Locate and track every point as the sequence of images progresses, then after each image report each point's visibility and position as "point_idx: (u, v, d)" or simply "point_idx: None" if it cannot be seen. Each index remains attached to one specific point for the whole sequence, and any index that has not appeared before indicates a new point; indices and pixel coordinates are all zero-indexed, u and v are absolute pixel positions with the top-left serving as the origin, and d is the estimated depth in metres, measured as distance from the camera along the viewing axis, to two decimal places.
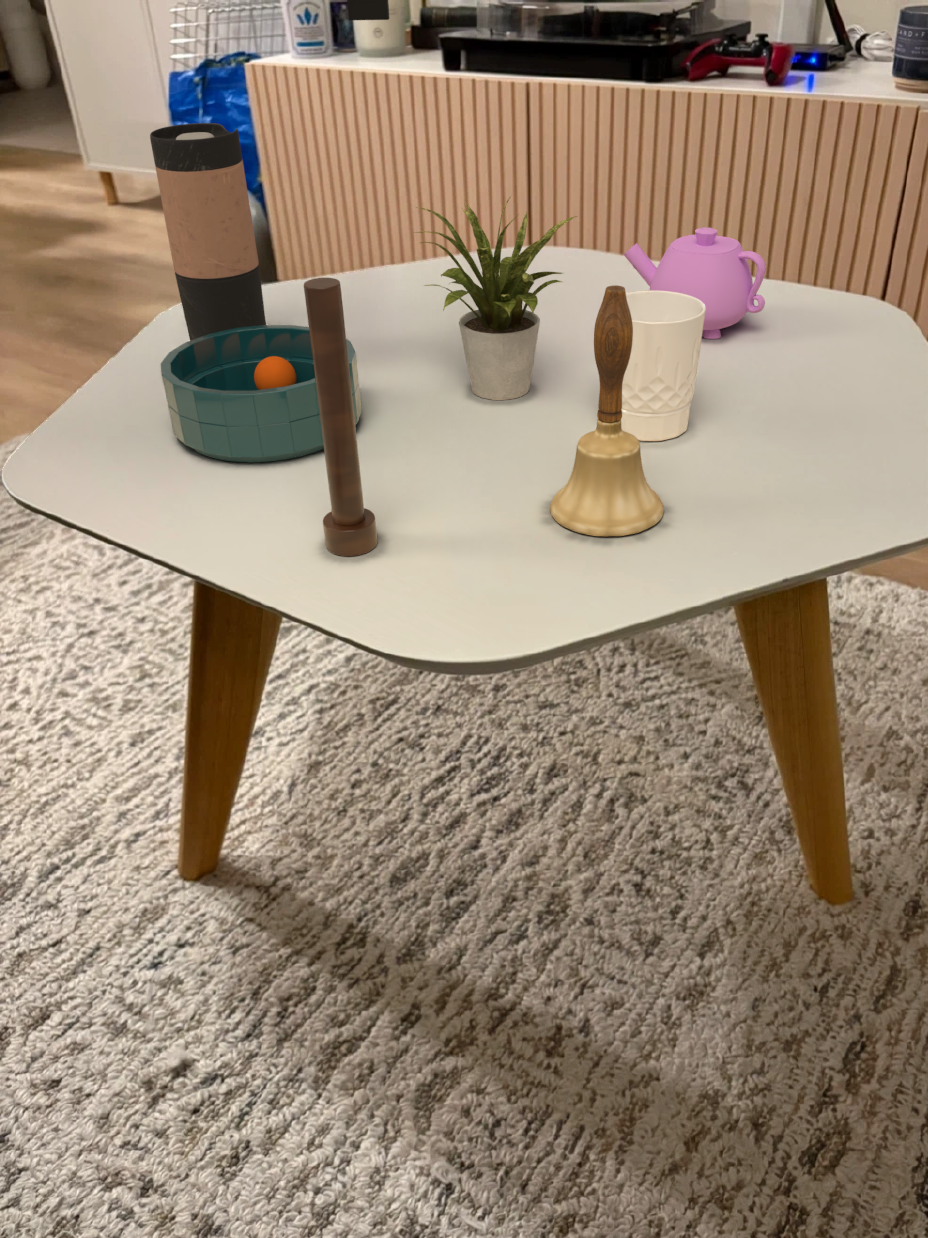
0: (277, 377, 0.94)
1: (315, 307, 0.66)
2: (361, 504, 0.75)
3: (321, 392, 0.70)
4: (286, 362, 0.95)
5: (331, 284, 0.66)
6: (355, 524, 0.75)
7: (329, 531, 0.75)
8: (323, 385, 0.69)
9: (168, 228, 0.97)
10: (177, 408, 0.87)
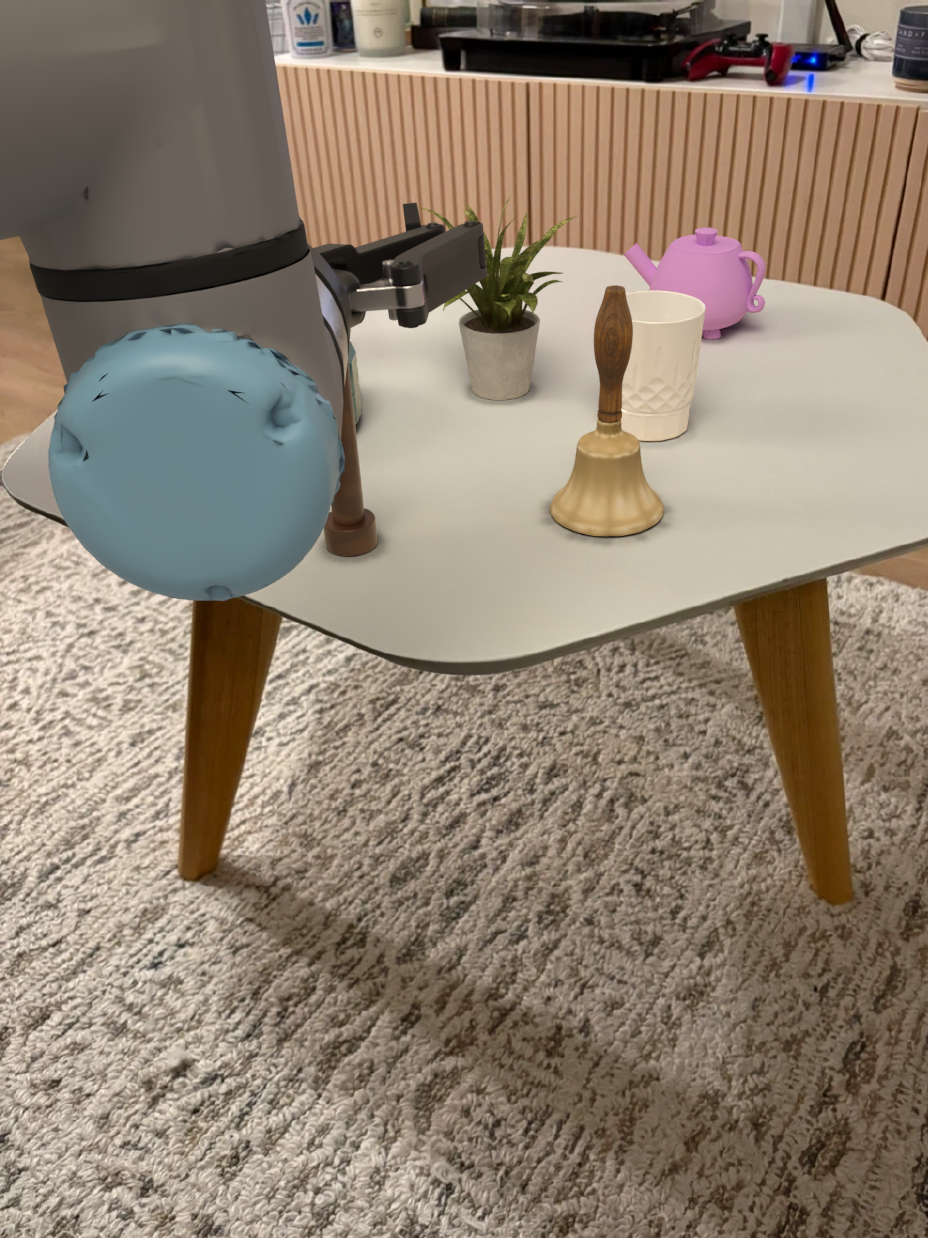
0: None
1: None
2: (361, 504, 0.75)
3: None
4: None
5: None
6: (355, 524, 0.75)
7: (329, 531, 0.75)
8: None
9: None
10: None
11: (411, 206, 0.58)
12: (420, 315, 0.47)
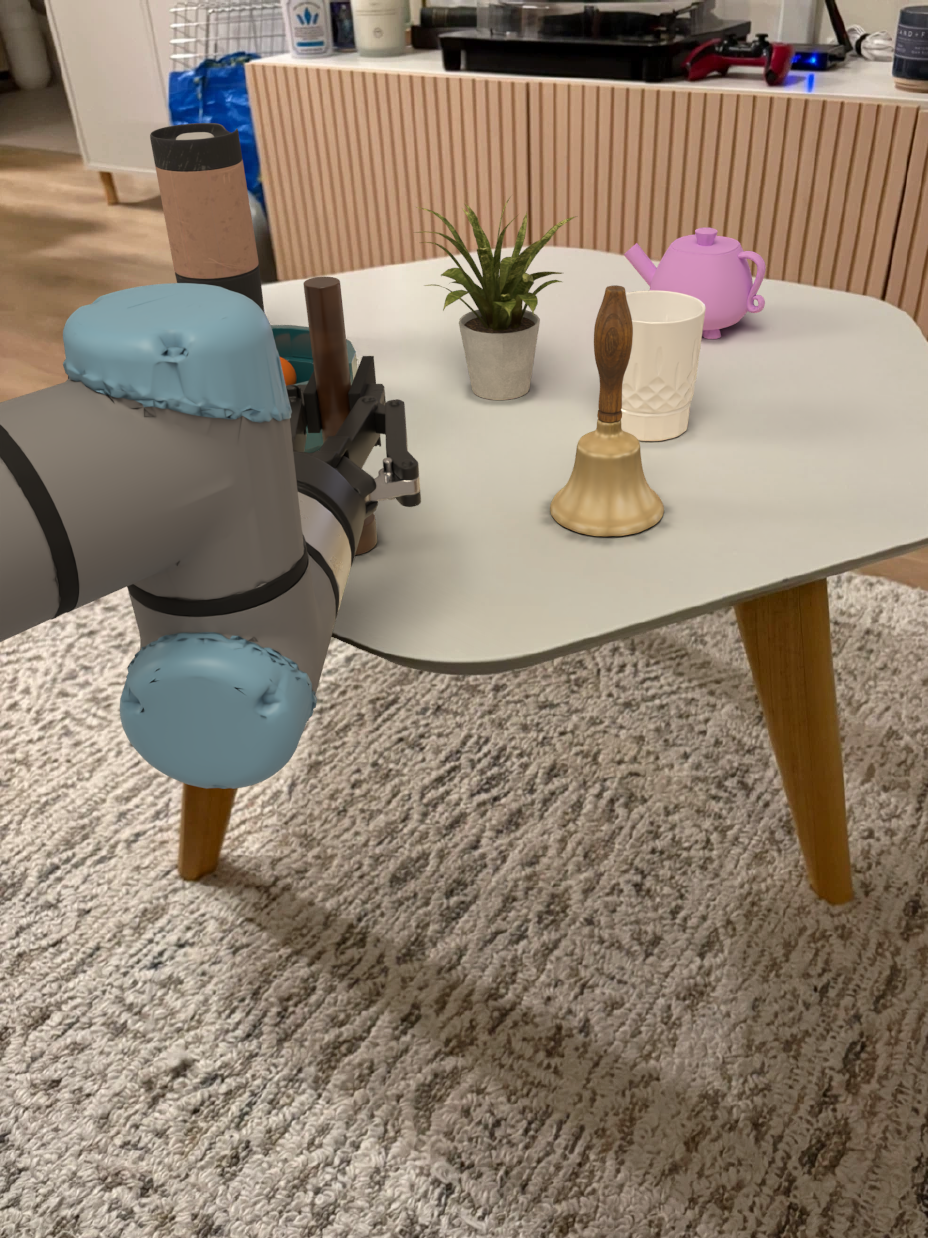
0: None
1: (315, 306, 0.66)
2: None
3: (321, 391, 0.70)
4: (286, 362, 0.95)
5: (331, 283, 0.66)
6: None
7: None
8: (323, 384, 0.69)
9: (168, 228, 0.97)
10: None
11: (366, 362, 0.74)
12: (419, 497, 0.63)
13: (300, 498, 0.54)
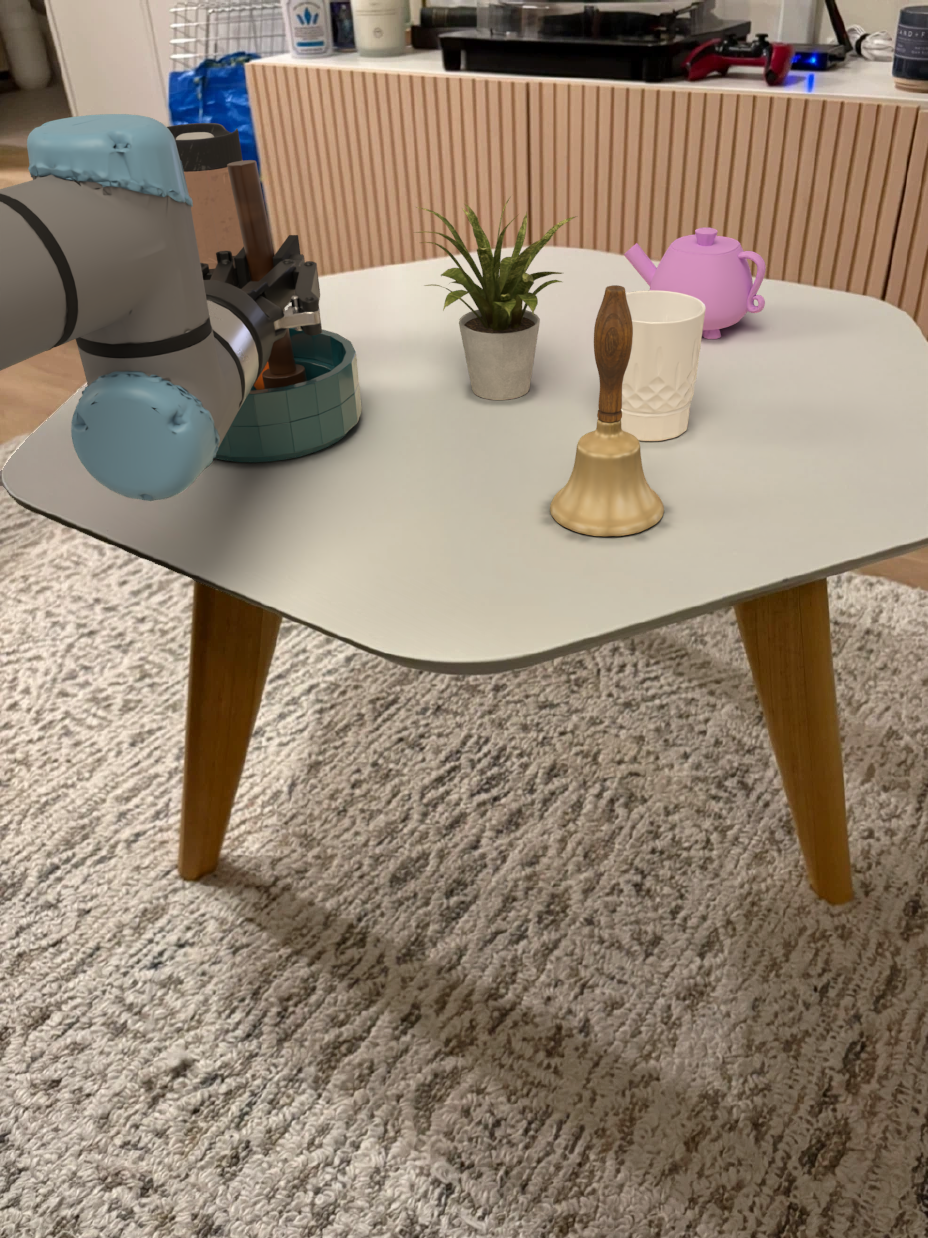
0: None
1: (237, 181, 0.83)
2: (291, 356, 0.91)
3: (249, 256, 0.86)
4: None
5: (249, 162, 0.83)
6: (288, 372, 0.91)
7: (267, 380, 0.91)
8: (250, 249, 0.86)
9: None
10: None
11: (291, 238, 0.90)
12: (320, 327, 0.79)
13: (216, 306, 0.70)
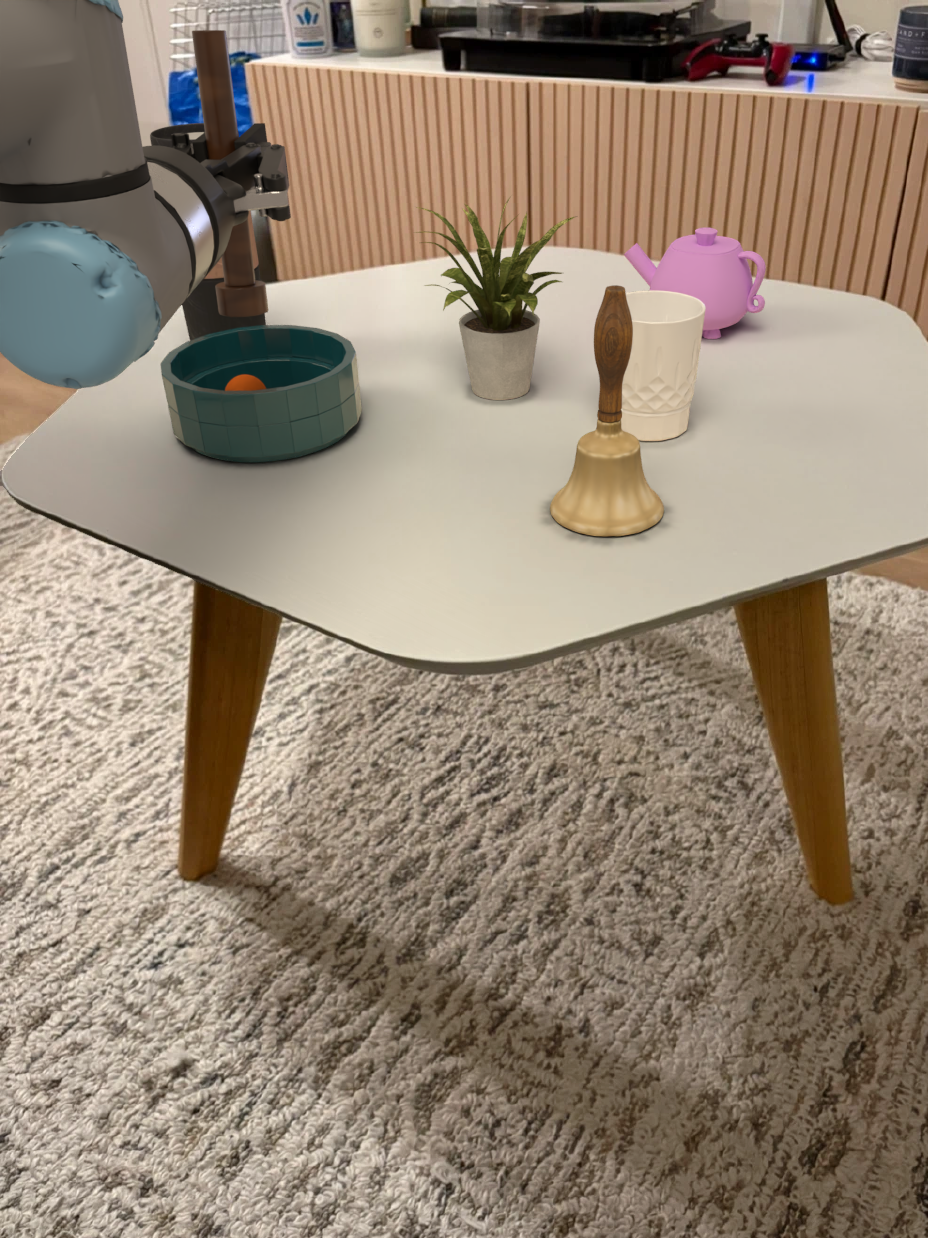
0: None
1: (203, 50, 0.72)
2: (251, 266, 0.80)
3: (211, 141, 0.75)
4: None
5: (218, 30, 0.72)
6: (246, 285, 0.80)
7: (222, 291, 0.79)
8: (213, 133, 0.75)
9: None
10: (177, 408, 0.87)
11: (257, 126, 0.79)
12: (288, 211, 0.68)
13: (161, 169, 0.59)
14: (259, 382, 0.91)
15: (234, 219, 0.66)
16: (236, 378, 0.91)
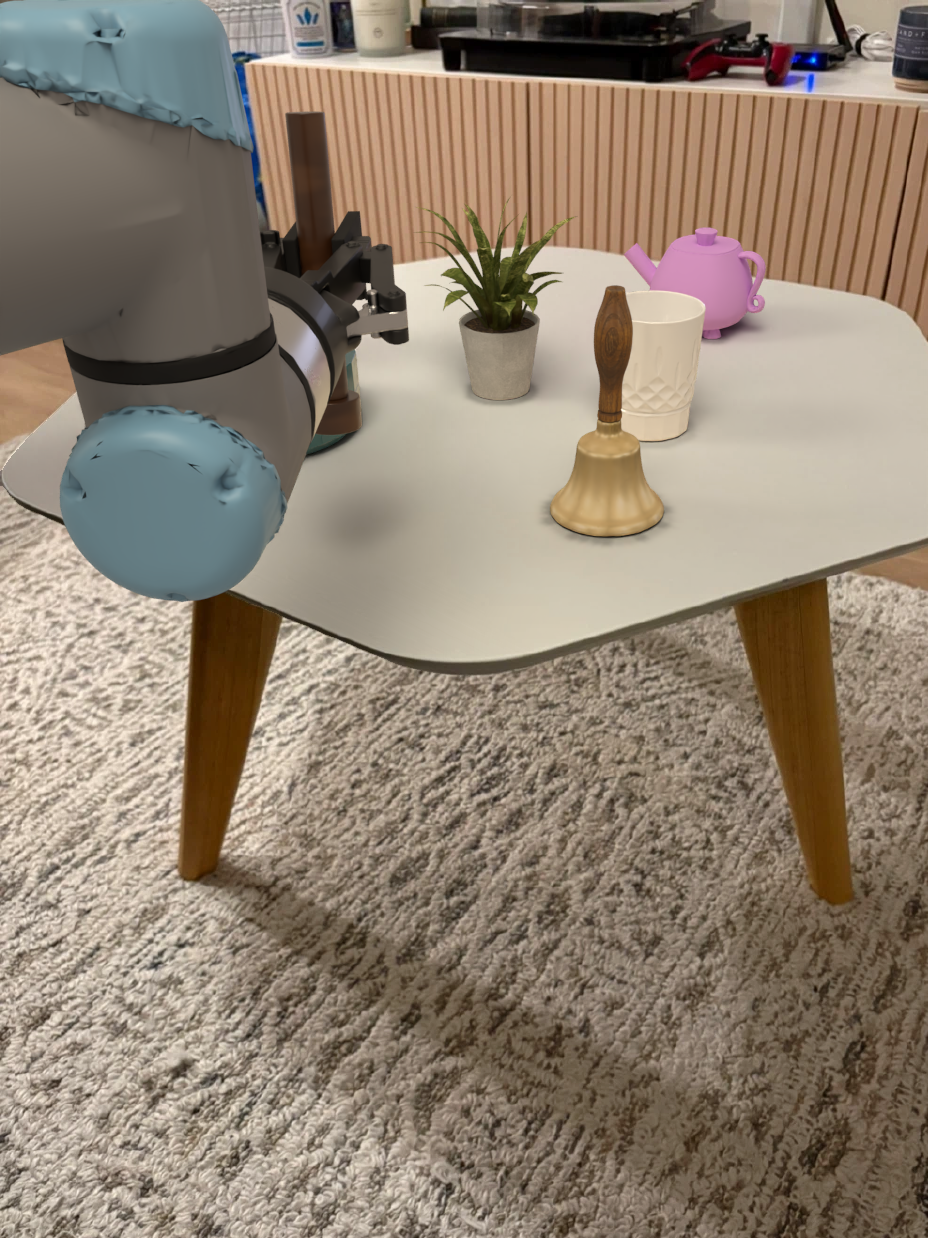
0: None
1: (299, 136, 0.61)
2: (345, 377, 0.69)
3: (304, 239, 0.64)
4: None
5: (316, 112, 0.62)
6: (339, 398, 0.69)
7: None
8: (307, 230, 0.64)
9: None
10: None
11: (352, 216, 0.68)
12: (407, 333, 0.57)
13: (272, 304, 0.48)
14: None
15: (347, 348, 0.55)
16: None
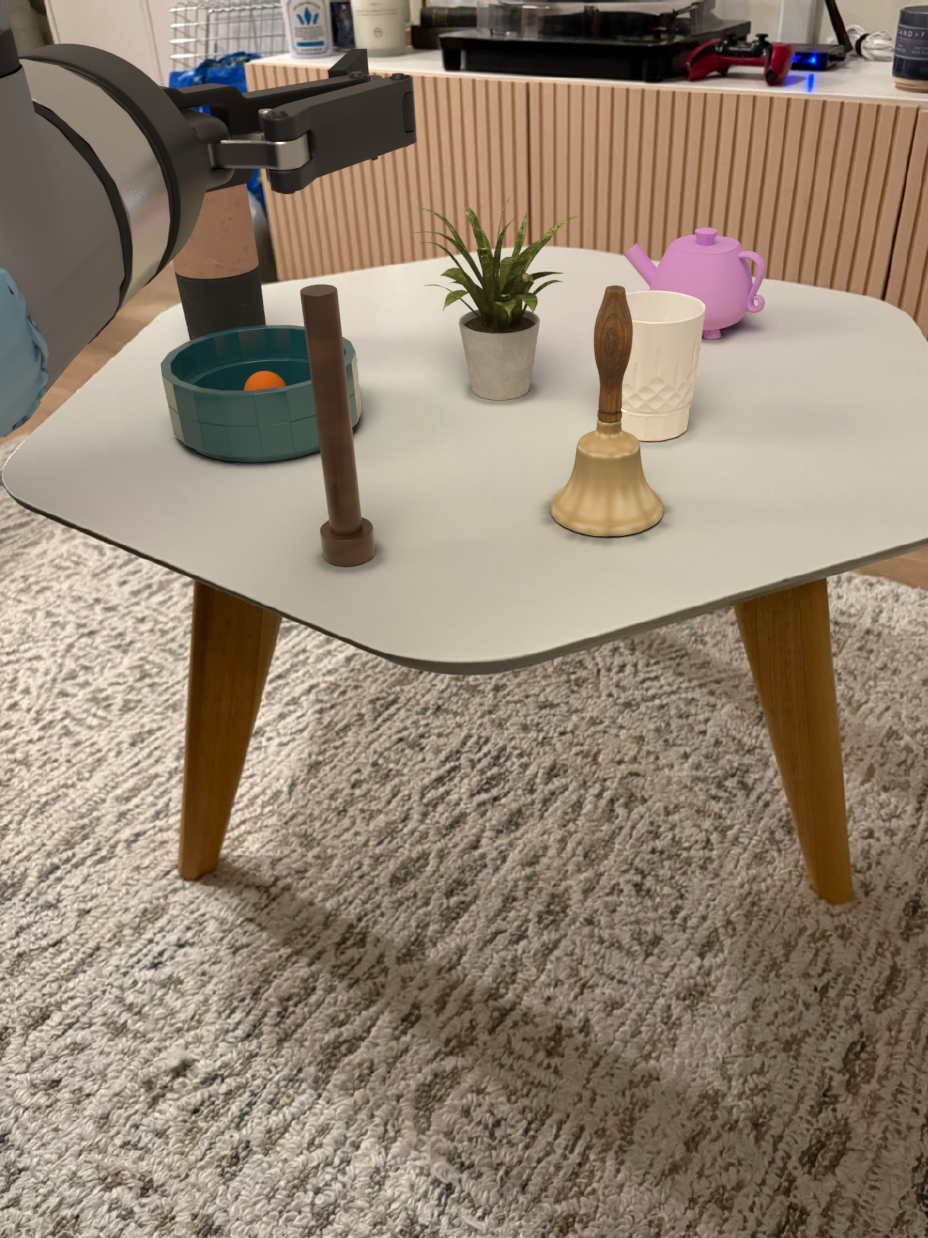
0: None
1: (314, 315, 0.65)
2: (359, 513, 0.74)
3: (320, 401, 0.68)
4: None
5: (329, 291, 0.65)
6: (354, 533, 0.74)
7: (329, 542, 0.74)
8: (322, 394, 0.68)
9: None
10: (177, 408, 0.87)
11: (356, 52, 0.50)
12: (294, 179, 0.39)
13: (70, 77, 0.32)
14: (281, 383, 0.92)
15: (209, 176, 0.39)
16: None
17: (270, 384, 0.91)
